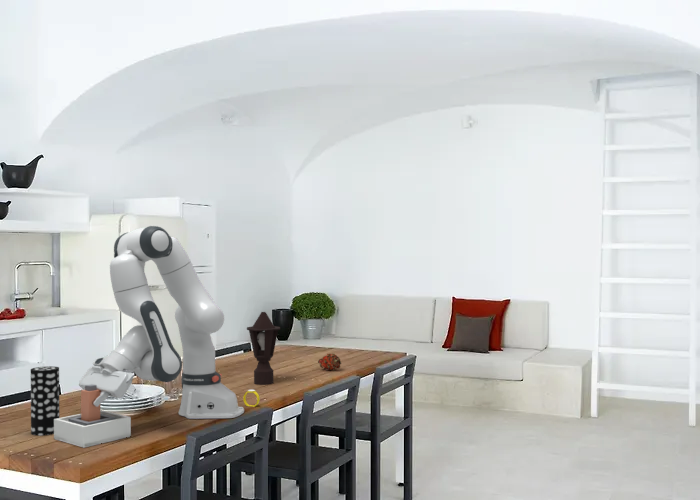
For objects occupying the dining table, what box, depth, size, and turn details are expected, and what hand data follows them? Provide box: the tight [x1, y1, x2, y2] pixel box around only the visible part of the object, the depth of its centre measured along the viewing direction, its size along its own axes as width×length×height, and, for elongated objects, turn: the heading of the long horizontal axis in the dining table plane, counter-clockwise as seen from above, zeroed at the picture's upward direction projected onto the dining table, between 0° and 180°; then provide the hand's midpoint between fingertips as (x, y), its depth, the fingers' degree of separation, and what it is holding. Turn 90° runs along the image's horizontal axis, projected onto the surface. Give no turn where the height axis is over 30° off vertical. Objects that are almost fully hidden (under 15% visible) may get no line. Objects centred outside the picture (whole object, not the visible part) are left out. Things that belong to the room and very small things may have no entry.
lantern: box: [246, 311, 281, 386], centre depth 319 cm, size 15×15×30 cm
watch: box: [242, 389, 261, 408], centre depth 274 cm, size 6×3×6 cm, turn 70°
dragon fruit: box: [317, 352, 342, 372], centre depth 351 cm, size 8×8×12 cm
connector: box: [80, 384, 101, 422], centre depth 230 cm, size 4×4×12 cm
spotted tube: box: [30, 365, 60, 436], centre depth 237 cm, size 8×8×20 cm
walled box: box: [53, 409, 132, 449], centre depth 231 cm, size 16×16×6 cm
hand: (89, 404), depth 230 cm, fingers closed on connector, 4 cm apart
